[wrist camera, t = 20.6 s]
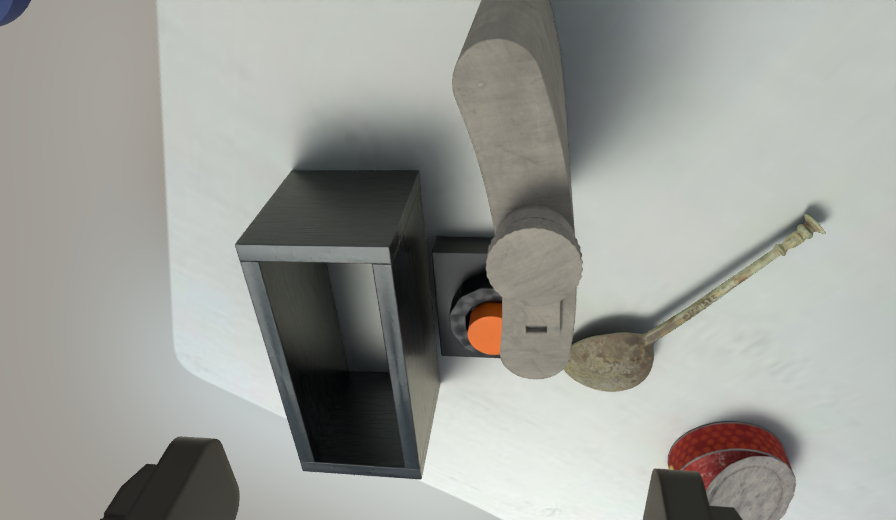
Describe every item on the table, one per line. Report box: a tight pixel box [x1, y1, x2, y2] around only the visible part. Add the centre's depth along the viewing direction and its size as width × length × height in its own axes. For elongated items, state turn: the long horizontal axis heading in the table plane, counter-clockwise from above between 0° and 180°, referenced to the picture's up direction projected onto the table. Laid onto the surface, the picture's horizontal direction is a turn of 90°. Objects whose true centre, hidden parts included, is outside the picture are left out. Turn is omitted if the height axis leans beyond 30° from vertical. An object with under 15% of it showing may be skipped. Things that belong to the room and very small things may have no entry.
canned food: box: [668, 422, 796, 520], centre depth 53 cm, size 11×10×10 cm
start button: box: [468, 302, 502, 355], centre depth 45 cm, size 4×4×2 cm
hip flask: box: [452, 0, 583, 379], centre depth 31 cm, size 16×4×20 cm, turn 10°
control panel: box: [432, 237, 502, 358], centre depth 47 cm, size 9×10×4 cm
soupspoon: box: [564, 214, 826, 392], centre depth 46 cm, size 22×3×7 cm
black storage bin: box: [235, 170, 440, 479], centre depth 46 cm, size 10×21×10 cm, turn 3°
